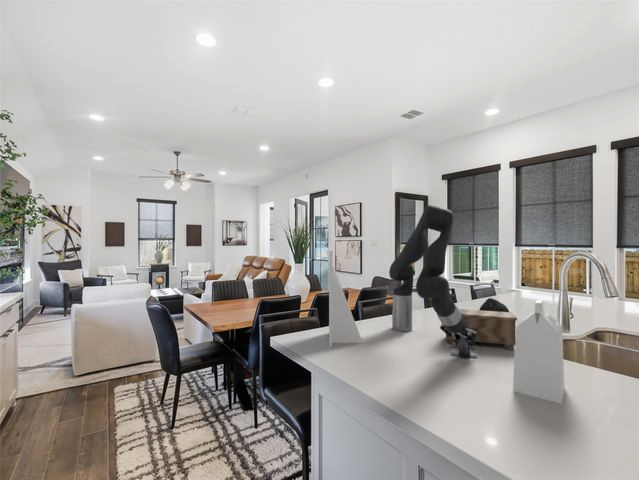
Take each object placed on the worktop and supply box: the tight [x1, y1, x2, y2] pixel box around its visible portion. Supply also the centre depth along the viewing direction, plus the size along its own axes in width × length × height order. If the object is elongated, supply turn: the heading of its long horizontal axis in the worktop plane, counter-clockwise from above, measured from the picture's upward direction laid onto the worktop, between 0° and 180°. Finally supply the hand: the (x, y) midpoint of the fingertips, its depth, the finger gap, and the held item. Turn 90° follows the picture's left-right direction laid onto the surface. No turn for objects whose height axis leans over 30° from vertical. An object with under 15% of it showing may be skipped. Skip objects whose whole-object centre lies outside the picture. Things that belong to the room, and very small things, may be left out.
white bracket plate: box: [328, 248, 364, 347], centre depth 147 cm, size 20×14×40 cm
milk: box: [512, 299, 565, 404], centre depth 97 cm, size 12×12×26 cm
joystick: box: [450, 335, 478, 359], centre depth 128 cm, size 9×12×10 cm
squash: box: [479, 297, 510, 312], centre depth 172 cm, size 14×15×15 cm
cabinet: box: [445, 308, 518, 351], centre depth 142 cm, size 27×11×13 cm, turn 70°
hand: (466, 343), depth 126 cm, fingers closed on joystick, 4 cm apart
